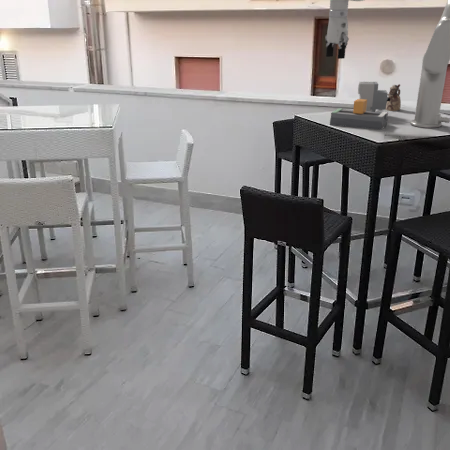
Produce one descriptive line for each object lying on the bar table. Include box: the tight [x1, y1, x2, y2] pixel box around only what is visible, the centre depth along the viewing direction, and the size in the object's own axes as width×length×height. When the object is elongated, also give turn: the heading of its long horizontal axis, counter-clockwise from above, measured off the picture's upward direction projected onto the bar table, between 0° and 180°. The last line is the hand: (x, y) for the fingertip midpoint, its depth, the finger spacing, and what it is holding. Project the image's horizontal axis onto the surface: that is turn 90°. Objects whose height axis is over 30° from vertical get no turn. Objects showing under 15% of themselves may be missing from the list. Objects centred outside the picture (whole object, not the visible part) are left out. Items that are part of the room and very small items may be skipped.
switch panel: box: [329, 107, 389, 130], centre depth 211 cm, size 22×11×5 cm, turn 61°
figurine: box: [385, 83, 402, 112], centre depth 238 cm, size 7×7×12 cm
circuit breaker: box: [357, 81, 390, 112], centre depth 225 cm, size 8×14×15 cm, turn 78°
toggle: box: [352, 98, 367, 114], centre depth 210 cm, size 4×6×7 cm, turn 151°
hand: (335, 57), depth 213 cm, fingers open, 9 cm apart
